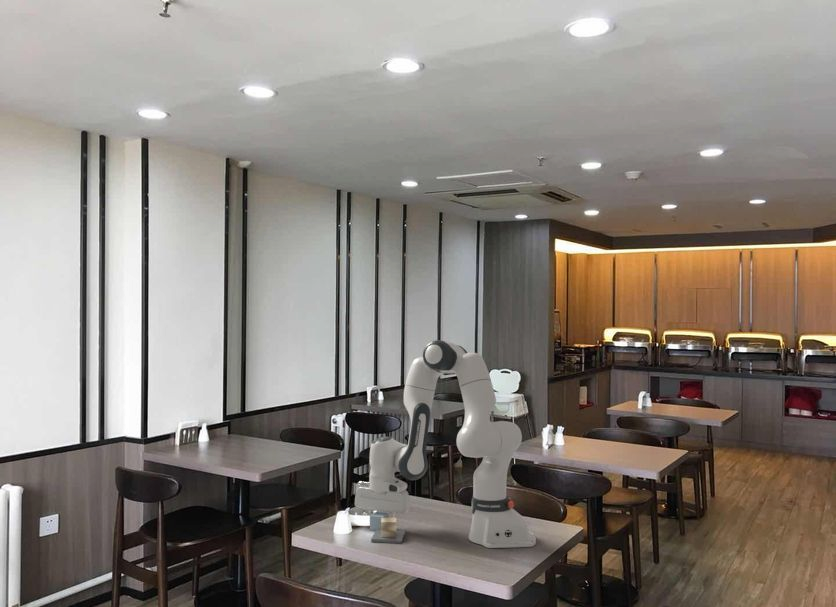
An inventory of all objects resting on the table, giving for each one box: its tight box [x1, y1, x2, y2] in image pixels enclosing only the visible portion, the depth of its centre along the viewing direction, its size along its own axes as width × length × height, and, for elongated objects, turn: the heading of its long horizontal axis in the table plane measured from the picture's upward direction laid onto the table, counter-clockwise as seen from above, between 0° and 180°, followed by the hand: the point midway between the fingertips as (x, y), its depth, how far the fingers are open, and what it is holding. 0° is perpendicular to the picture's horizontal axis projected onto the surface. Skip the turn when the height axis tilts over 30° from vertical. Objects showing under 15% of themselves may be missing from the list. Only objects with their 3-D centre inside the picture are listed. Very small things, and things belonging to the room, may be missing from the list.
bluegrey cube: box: [369, 511, 390, 532], centre depth 237 cm, size 5×5×5 cm
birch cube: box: [381, 517, 397, 537], centre depth 228 cm, size 5×5×5 cm
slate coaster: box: [370, 529, 406, 544], centre depth 228 cm, size 10×10×1 cm
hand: (381, 522), depth 239 cm, fingers closed on bluegrey cube, 5 cm apart
